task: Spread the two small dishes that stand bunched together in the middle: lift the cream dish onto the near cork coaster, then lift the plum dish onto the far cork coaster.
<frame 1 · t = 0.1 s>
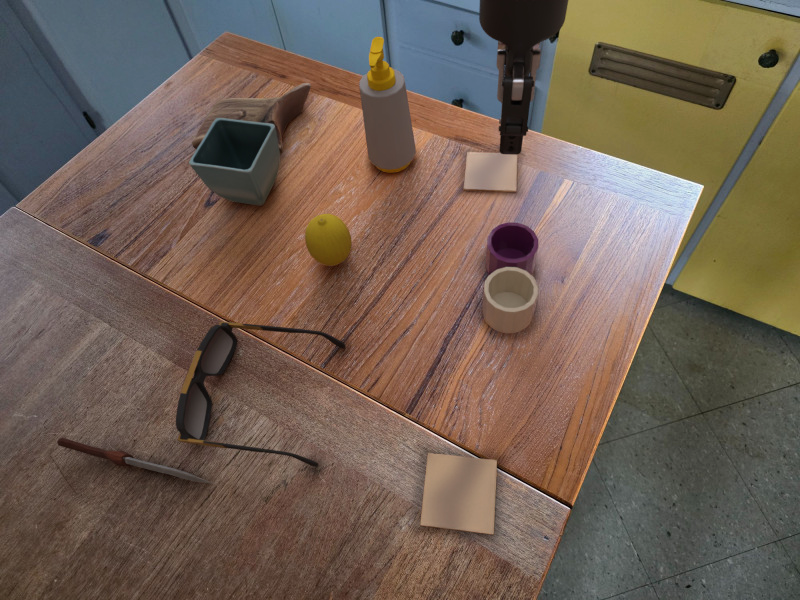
hand: (511, 123, 59), 15 cm above the table, tool pointing down, fingers open, 8 cm apart
cream dish: (507, 311, 64), on the table
sunglasses: (268, 396, 62), on the table
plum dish: (509, 266, 68), on the table
knife: (143, 466, 59), on the table
near coaster: (459, 492, 54), on the table
soap bottle: (392, 160, 79), on the table
flower pot: (254, 192, 79), on the table
lemon: (335, 260, 71), on the table
fragment: (258, 128, 86), on the table
far coaster: (490, 172, 76), on the table
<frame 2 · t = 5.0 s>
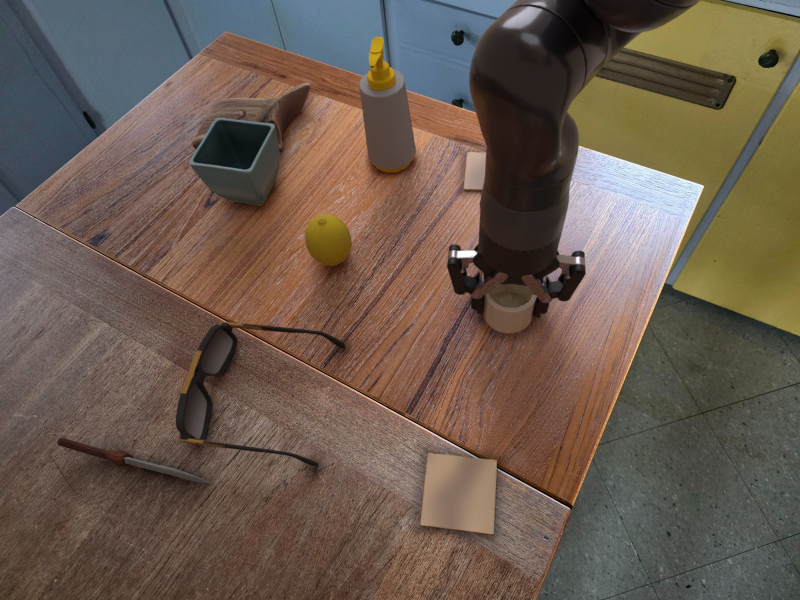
hand: (508, 308, 64), 1 cm above the table, tool pointing down, fingers closed on cream dish, 6 cm apart
cream dish: (507, 311, 64), on the table, touching gripper
everything else where it was.
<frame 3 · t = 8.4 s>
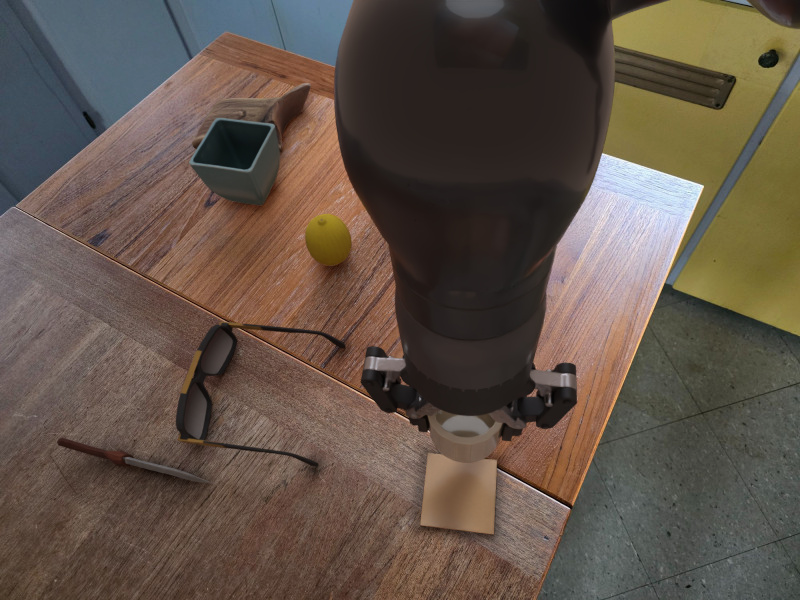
hand: (465, 424, 44), 14 cm above the table, tool pointing down, fingers closed on cream dish, 6 cm apart
cream dish: (465, 426, 44), point 13 cm above the table, touching gripper
everything else where it was.
when the fingers open (1 cm above the table, at t = 11.9 s): cream dish stays where it is, resting on near coaster.
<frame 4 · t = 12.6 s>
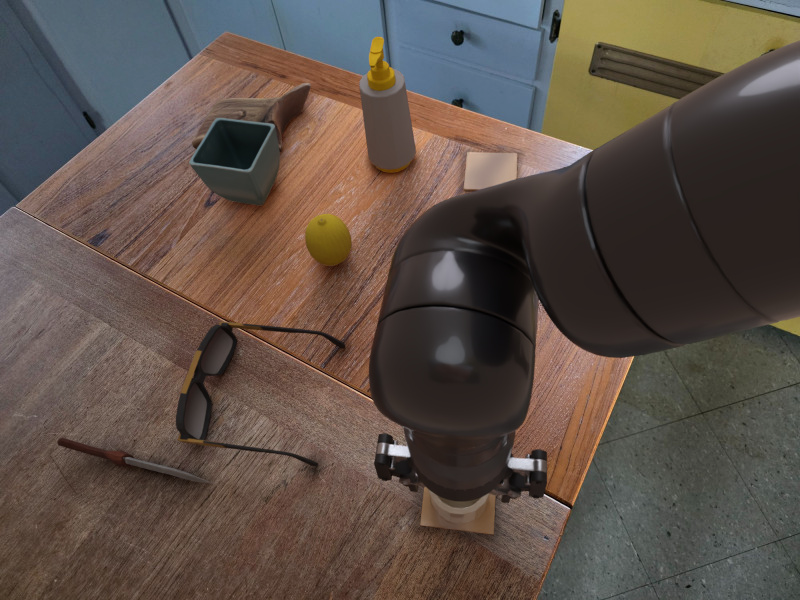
hand: (460, 486, 53), 2 cm above the table, tool pointing down, fingers open, 8 cm apart
cream dish: (459, 492, 54), resting on near coaster
everything else where it was.
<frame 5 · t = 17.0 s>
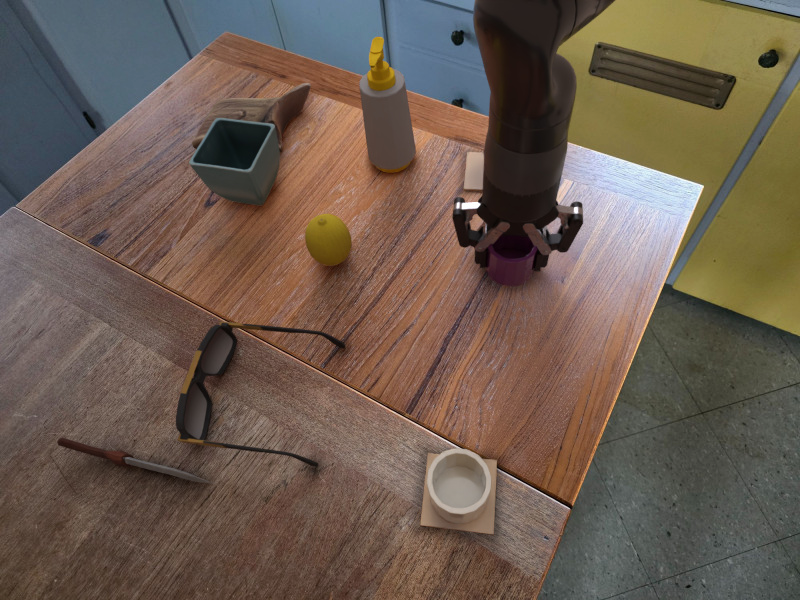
hand: (510, 263, 67), 1 cm above the table, tool pointing down, fingers closed on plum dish, 6 cm apart
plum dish: (509, 266, 68), on the table, touching gripper
everything else where it was.
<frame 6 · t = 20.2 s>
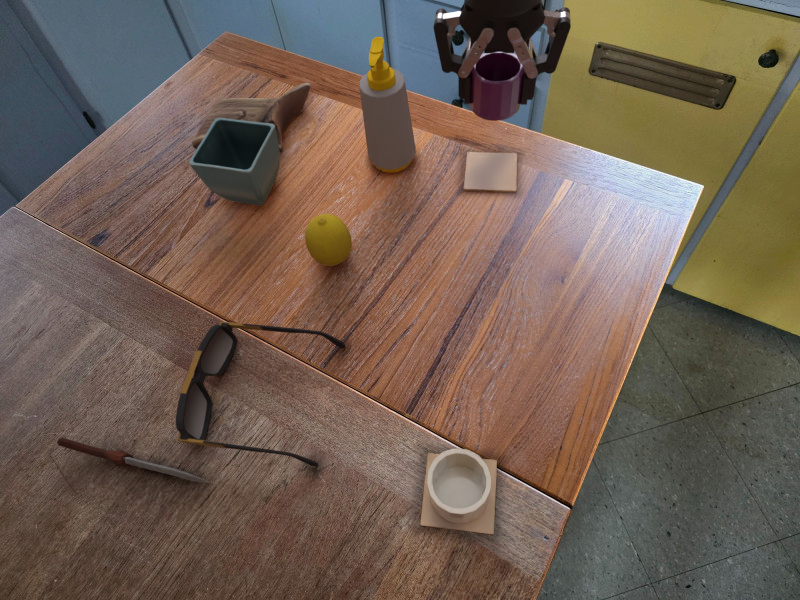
hand: (495, 99, 64), 13 cm above the table, tool pointing down, fingers closed on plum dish, 6 cm apart
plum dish: (495, 104, 65), point 12 cm above the table, touching gripper
everything else where it was.
when the fingers open (1 cm above the table, at t = 23.4 s): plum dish stays where it is, resting on far coaster.
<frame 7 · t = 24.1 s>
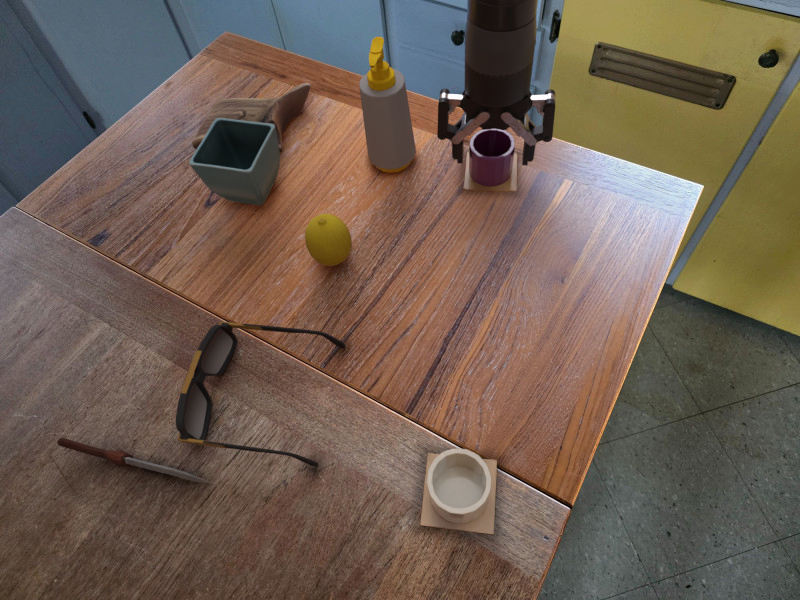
hand: (492, 160, 74), 2 cm above the table, tool pointing down, fingers open, 8 cm apart
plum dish: (490, 170, 76), resting on far coaster
everything else where it was.
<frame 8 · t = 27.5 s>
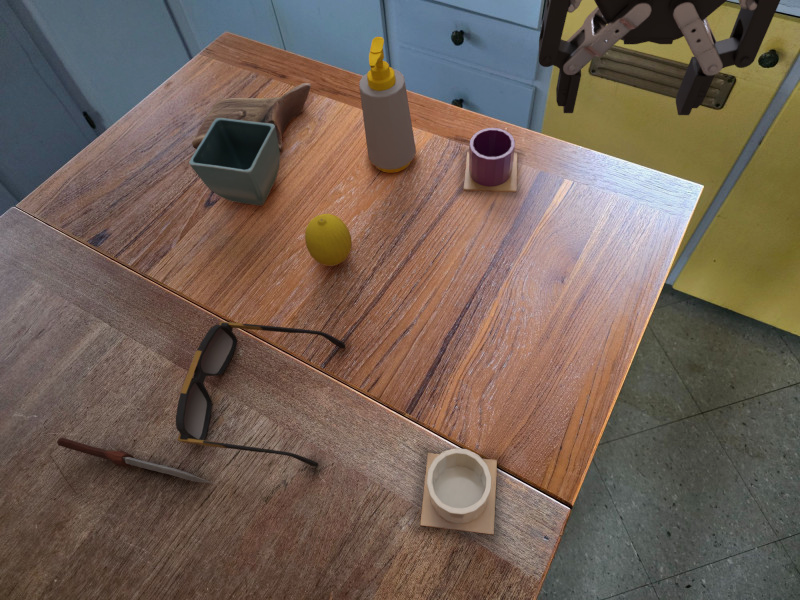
hand: (624, 107, 43), 26 cm above the table, tool pointing down, fingers open, 8 cm apart
nothing on the table moved.
at the end: cream dish 0.1 cm off-centre on the near coaster, point 0.3 cm above the near coaster's base; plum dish 0.1 cm off-centre on the far coaster, point 0.3 cm above the far coaster's base; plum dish tilted 0° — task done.
